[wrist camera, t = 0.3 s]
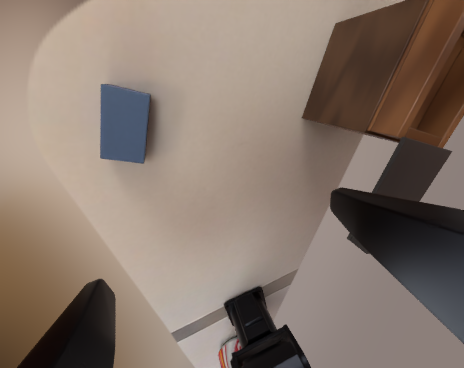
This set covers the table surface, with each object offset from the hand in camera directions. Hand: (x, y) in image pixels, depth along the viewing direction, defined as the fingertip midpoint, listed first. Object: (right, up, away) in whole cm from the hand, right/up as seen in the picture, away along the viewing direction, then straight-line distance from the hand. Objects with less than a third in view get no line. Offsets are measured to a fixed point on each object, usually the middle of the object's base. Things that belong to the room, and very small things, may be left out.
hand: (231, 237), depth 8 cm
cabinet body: (+12, +13, +14) cm, 23 cm away
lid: (+13, +1, +8) cm, 15 cm away
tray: (+14, +10, +8) cm, 19 cm away
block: (-9, +7, +10) cm, 15 cm away
